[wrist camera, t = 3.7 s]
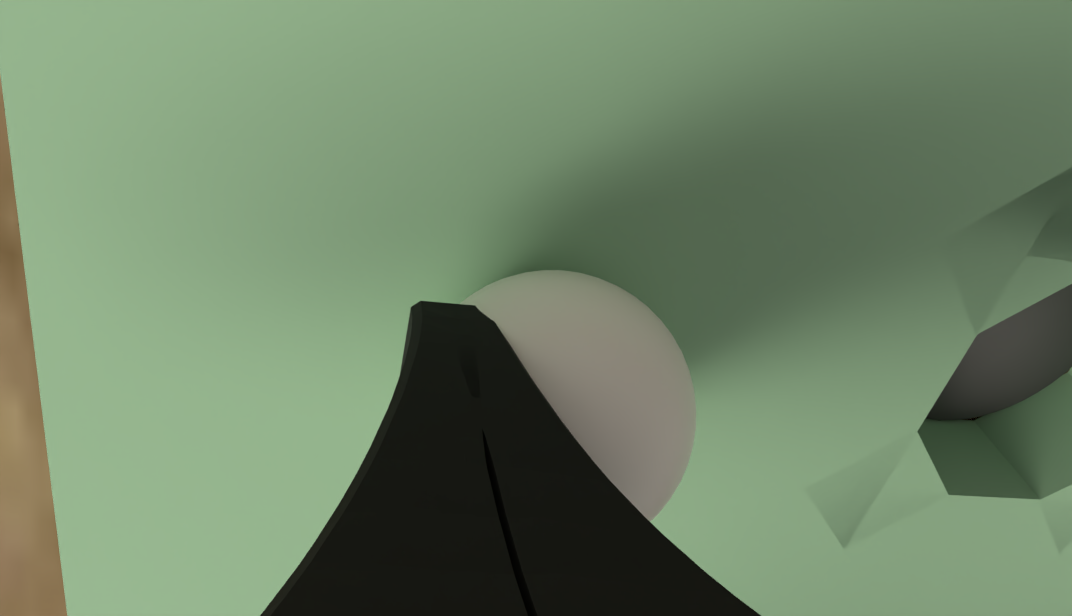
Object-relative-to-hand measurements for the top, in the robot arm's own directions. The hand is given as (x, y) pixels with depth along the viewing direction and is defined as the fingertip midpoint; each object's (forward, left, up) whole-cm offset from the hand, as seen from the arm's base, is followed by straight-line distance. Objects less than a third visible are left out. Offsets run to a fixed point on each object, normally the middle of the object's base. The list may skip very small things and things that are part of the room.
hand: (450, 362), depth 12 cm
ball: (0, -2, 0) cm, 2 cm away
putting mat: (-1, -6, -4) cm, 8 cm away
